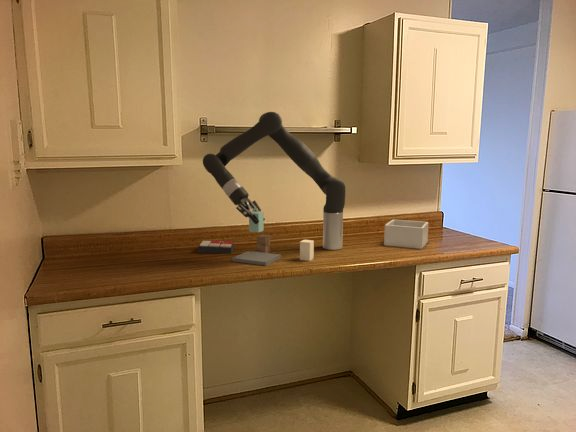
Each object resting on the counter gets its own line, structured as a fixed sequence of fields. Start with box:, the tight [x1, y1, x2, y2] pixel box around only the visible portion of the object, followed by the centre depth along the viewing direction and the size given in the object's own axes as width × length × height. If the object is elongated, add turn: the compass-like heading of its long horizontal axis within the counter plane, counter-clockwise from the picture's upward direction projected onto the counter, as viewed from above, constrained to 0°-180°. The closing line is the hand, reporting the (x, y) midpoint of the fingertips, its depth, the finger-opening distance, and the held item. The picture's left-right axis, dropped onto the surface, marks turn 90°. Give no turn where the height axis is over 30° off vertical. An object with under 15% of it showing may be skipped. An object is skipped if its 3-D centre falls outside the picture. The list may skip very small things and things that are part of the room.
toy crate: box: [383, 219, 429, 250], centre depth 233 cm, size 18×18×10 cm
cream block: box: [299, 239, 315, 262], centre depth 202 cm, size 4×4×8 cm
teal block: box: [248, 211, 265, 233], centre depth 199 cm, size 4×4×8 cm
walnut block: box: [256, 233, 271, 253], centre depth 213 cm, size 4×4×8 cm
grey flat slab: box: [231, 250, 282, 267], centre depth 201 cm, size 14×16×2 cm
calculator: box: [197, 240, 235, 255], centre depth 217 cm, size 11×4×15 cm
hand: (260, 221), depth 198 cm, fingers closed on teal block, 4 cm apart
